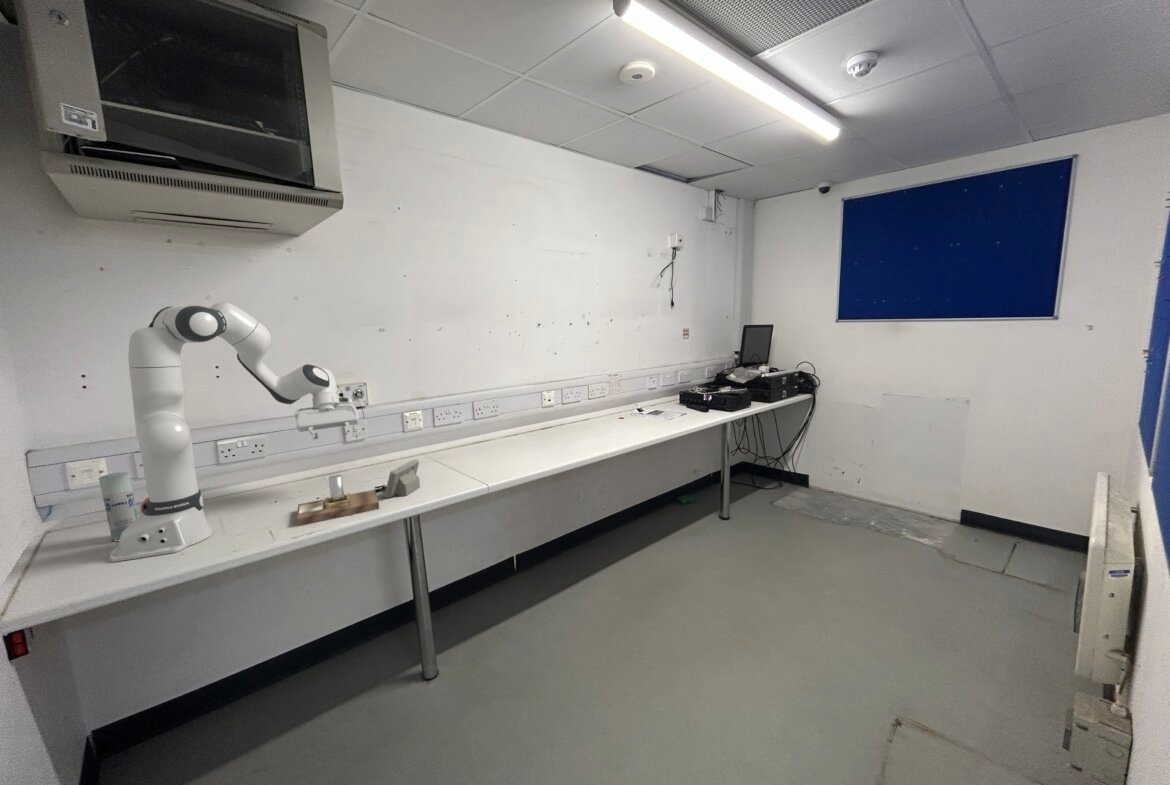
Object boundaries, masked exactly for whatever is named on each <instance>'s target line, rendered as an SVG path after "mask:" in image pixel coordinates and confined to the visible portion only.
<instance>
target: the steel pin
mask: <svg viewBox="0 0 1170 785" xmlns="http://www.w3.org/2000/svg"><path fill="white" fill-rule="evenodd" d="M343 481H344V480H343V475H341V474H334V475H331V476H329V477H328V483H329V490H330V491H329V492H330V493H329V494H330V497H331V501H332V503H334V502H339V501H344V500H345V498H344V494H345V492H344V491H345V490H344V484H343Z"/></svg>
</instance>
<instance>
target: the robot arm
mask: <svg viewBox="0 0 1170 785" xmlns="http://www.w3.org/2000/svg"><path fill="white" fill-rule="evenodd" d="M216 337H219V338H221V339H222V340H224V341H225V342H226V343H227V344H229V345H230V346H231V347H233V349H235V351H236V358H237V361H238V362H239V363H240V365H241V366H242V367H243V368H244V369H245V370H246V371H247V372H248V373H249V374H250V375H251V376H252V377H253V378H255V379H256V381H258V383H260V384H261V385H262V386H263V387H264V388H265V389H266V390H267V391H268V392H269V394H270V395H271V396H272V398H273V399H274V400H275V401H277V403H278V402H279V403H281V404H285V405H292V404H294V403H296V402H298V401H299V400H300V399H301V398H303V397H305V396H307V395H308V394H310V395H312V399H311V400H312V401H311V402H312V406H311V407H305V408H299V409H297V410H296V411H295V412H294V419H296V429H297V431H298V432H301V433H303V432H304V433H305V432H309V434H310V435H312V437H313V438H312V439H313V440H318V439H319V435H318V432H315V431H317V430H325V429H331V428H339V427H344V428H341V429H342V435H343V436H347V435H348V430H349V429H350V426H354V425H357V424H359V423H360V416H359V412H358V410H357V408H356V406H355V404H353V399H352V398H351V397H345V396H340V395H338V387H337V386H338V385H337V380H336V378H335V376H334V374H333V372H332V371H331V370H330V369H328V368H323V367H318V366H316V365H312V364H310V363H308V364H304V365H302V366H300V367H298V368H296V369H294V370H293V371H291V372H289V373H287V374H285V375H284V376H277V375H276V374H275V373H274V372H273V371H272V370H271V369H270V368H269V367H268V366H267V365H266V364H265V363H264V362H263V361H262V360H263V357H264V356H265V355H266V354H267V353H268V351H269V348H270V346H271V343H272V335H271V332H270V331H269V330H268V328H266V326H265V325H263V323H261V322H260V321H258V320H257V319H256V318H255V317H253V316H252V315H250V314H249V313H248V312H246V311H245V310H243V309H242V308H240V307H238V306H236V305H234V304H232V303H230V302H226V301H221V302H217V303H215V304H213V305H212V306H211V305H210V307H206V306H203V305H190V304H189V305H187V304H180V305H174V306H173V305H172V306H166V307H163V308H161V309H160V310H159V311H157V312H156V314H155V315H154V316H153V318H152V321H151V322H150V324H149V325H148V327H142V328H139V329H137V330H134V331H133V332H132V333H131V335H130V337H129V341H128V342H129V343H128V352H127V353H128V354H127V355H128V357H127V358H128V370H129V377H130V378H129V379H130V387H131V394H132V396H131V397H132V405H133V415H134V425H135V433H136V436H137V441H138V444H139V450H140V455H141V461H142V462H141V463H142V467H143V468H142V469H143V473H144V479H145V483H146V484H145V485H146V489H147V494H148V497H146V498H145V499H144V500H143V501H142V503H141V504H140V512H141V513H142V514H141V515H140V516H139V517H138V519H136V520H135V521H134V522H133V523H132V524H130V525H129V526H128V527H127V528H126V529H125V530H124V531H123V532H122V534H121V537H120V541H118V543H119V544H118V546H116V547H115V548H114V549H113V550H111V552H110V554H109V561H111V562H112V563H114V562H121V561H129V560H135V559H140V558H141V557H142V558H146V557H153V556H154V557H155V556H160V555H166V554H168V555H169V554H171V553H172V554H173V553H177V552H180V551H182V550H183V549H186V548H188V547H190V546H192V545H194V544H197V543H199V542H201V541H204V540H206V539H207V538H209V537H211V535H212V534H213V532H214V530H213V529H212V528H211V526H210V523H209V521H208V520H207V517H206V514H205V512H204V499H203V498H204V497H203V494H202V491H201V489H199V484H198V479H197V478H198V477H197V473H196V466H195V457H194V456H195V455H194V448H193V447H194V446H193V441H192V431H191V428H190V427H189V425H188V424H187V420H186V411H185V410H186V409H185V407H186V405H185V386H184V376H183V368H182V367H183V366H182V360H181V352H182V348H183V346H184V345H185V344H186V343H187V344H191V343H206V342H209V341H211V340H213V339H215V338H216Z"/></svg>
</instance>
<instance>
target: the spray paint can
mask: <svg viewBox="0 0 1170 785" xmlns="http://www.w3.org/2000/svg"><path fill="white" fill-rule="evenodd" d="M98 481H99V487H100V490H101V494H102V500H103V504H104V509H105V513H106V518H107V523H108V528H109V531H110V537H111V540H112V541H113V540H120V537H121V534H122V532H123V531H124V530H125V529H126V528H127V527H128V526H129V525H130V524H132V523H133V522H134V521H135V520H136V519H138V518H139V517H138V513H137V512H138V511H137V507H136V502H135V496H134V490H133V486H132V480H131V475H130V472H129V471H120V472H114V473H108V474H105V475H102V476H100V477H98Z"/></svg>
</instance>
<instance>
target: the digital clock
mask: <svg viewBox="0 0 1170 785" xmlns="http://www.w3.org/2000/svg"><path fill="white" fill-rule="evenodd" d="M419 464H420V462H419V460H418V459H415V458H414V459H411V460H410V461H407V462H406V463H404V464H402V465H400V466H398V467H396V468H395V469H393V470H391V471H390V472H389V475H388V480H387V484H386V488H385V492H384V495H385V498H388V499H389V498H393V497H394V496H396V497H397V496H401V497H407V496H409V495H410V494H412V493H413V492H415V491H416V490H418V489H421V486H420V484H421V483H420V477H419V476H418V475H417V472H418V469H419V466H420V465H419Z"/></svg>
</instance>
